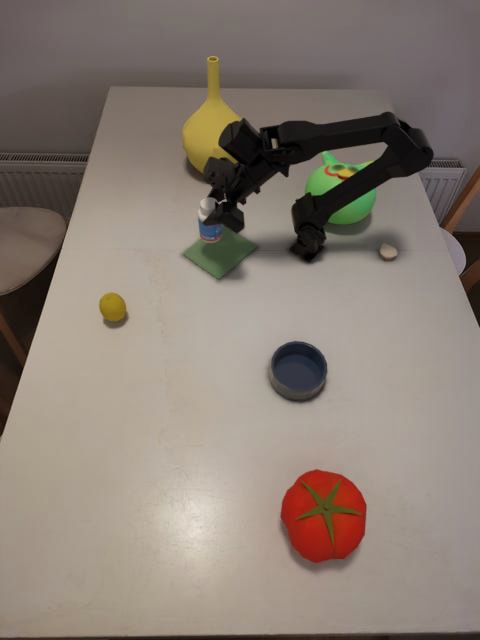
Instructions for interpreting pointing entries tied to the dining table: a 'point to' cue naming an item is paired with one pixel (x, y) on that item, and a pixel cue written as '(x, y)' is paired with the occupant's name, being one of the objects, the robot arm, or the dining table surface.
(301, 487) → the tomato
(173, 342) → the dining table surface
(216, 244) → the towel
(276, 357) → the shallow round bowl
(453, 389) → the dining table surface
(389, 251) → the macaroon
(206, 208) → the pill bottle
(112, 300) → the lemon
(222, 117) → the vase
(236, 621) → the dining table surface
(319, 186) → the toy bird
